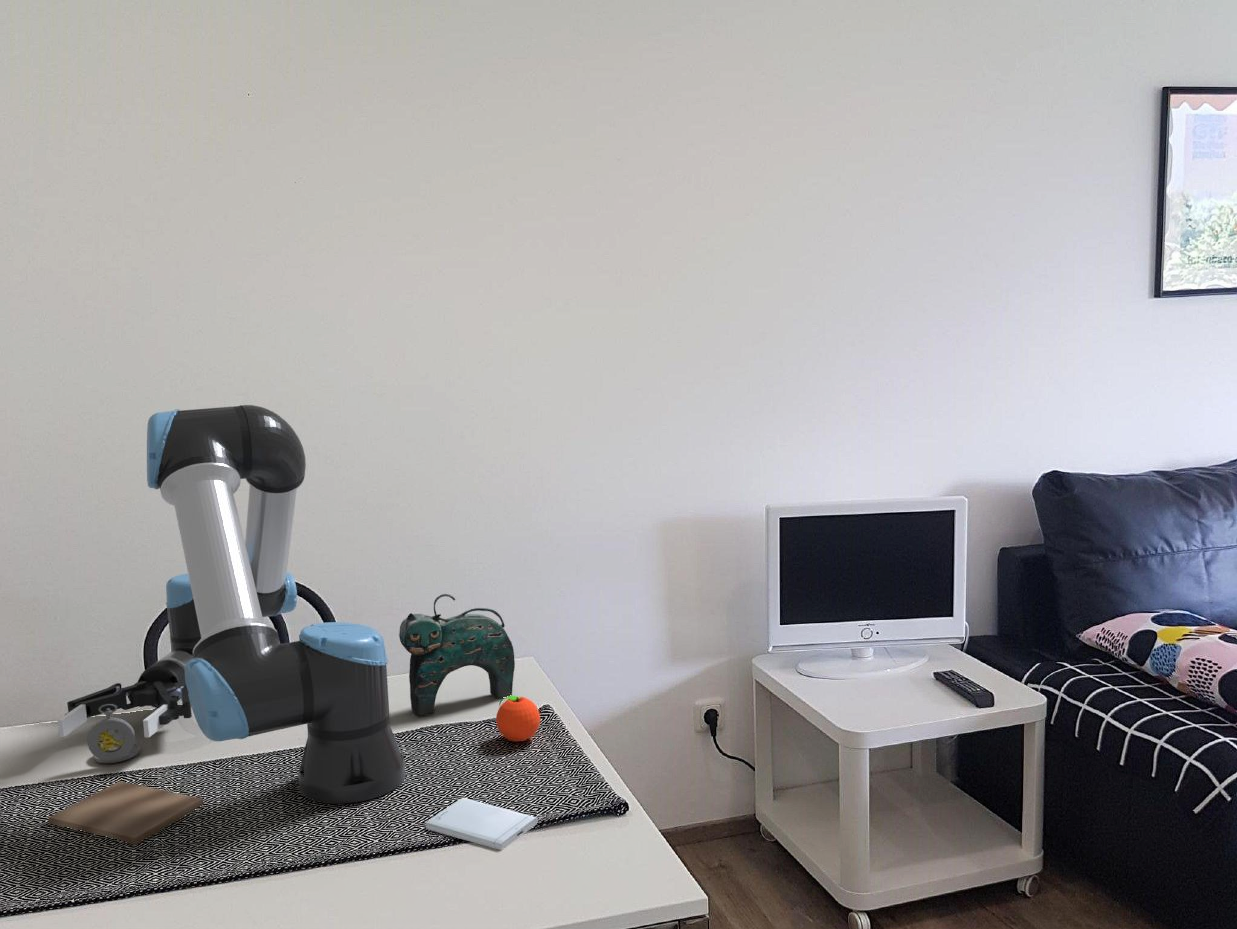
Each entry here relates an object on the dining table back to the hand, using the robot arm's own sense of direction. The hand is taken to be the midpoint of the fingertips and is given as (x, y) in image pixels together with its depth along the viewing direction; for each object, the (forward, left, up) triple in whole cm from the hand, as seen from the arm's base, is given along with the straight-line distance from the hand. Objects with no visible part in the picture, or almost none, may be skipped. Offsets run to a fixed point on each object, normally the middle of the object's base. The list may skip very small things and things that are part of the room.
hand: (103, 728), depth 170 cm
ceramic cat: (-38, -41, -6) cm, 56 cm away
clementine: (-54, -31, -6) cm, 63 cm away
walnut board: (-16, +11, -6) cm, 21 cm away
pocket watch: (+1, -2, -6) cm, 6 cm away
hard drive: (-64, -4, -7) cm, 65 cm away
